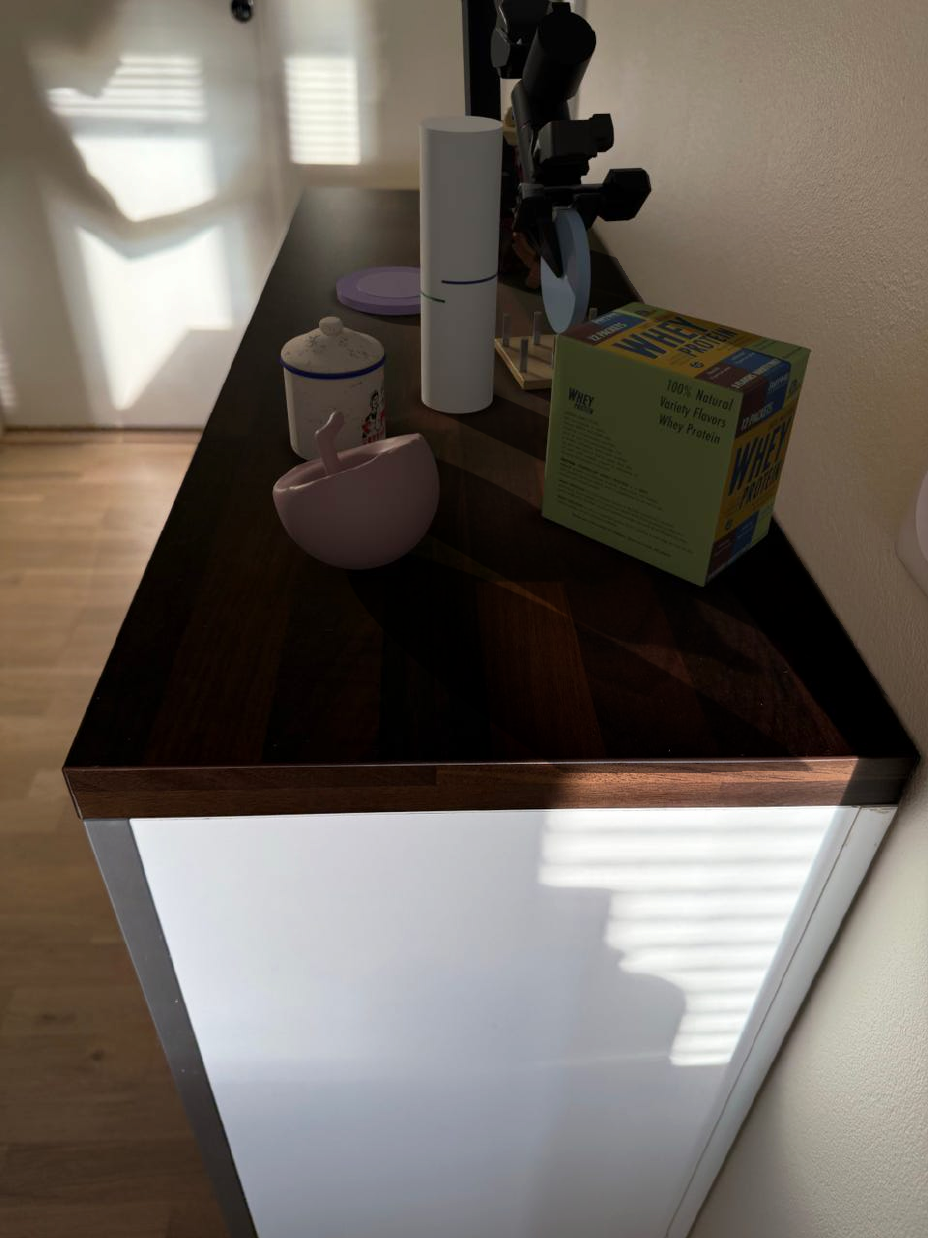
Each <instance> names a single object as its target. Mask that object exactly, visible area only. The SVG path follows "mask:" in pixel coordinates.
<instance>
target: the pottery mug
mask: <svg viewBox="0 0 928 1238" xmlns="http://www.w3.org/2000/svg"><path fill="white" fill-rule="evenodd" d="M532 247H533V245H532V244H531V243H530V242H529V241H528V240H527V239H526V238H525V237H524V236H523V235H522V234H521V233H515V232H512V233H507V232H505V231H503V230H500V229H499V248H500V250H501V251H498V270H497V271H499V273H502V272H505V273H506V272H507V271H508V270H509V269H510V268H512V267H514V266H517V265H525V266H526V267H527V268H528V269H530V270H529V273H528V276H527V277H526V279H525V282H524V283H525V286H527V287H528V288H530V289H531V290H537V288H538V287H540V286H542V284H541V255H540V254H539V252H538V251H537V250H536V249H534V248H532Z"/></svg>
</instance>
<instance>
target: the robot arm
mask: <svg viewBox="0 0 928 1238" xmlns="http://www.w3.org/2000/svg"><path fill="white" fill-rule="evenodd" d="M460 2H461V24H462V25H461V27H462V29H461V31H462V57H463V58H462V61H463V82H464V83H463V87H464V88H463V89H464V90H463V91H464V116H476V117H484V118H490V119H494V120H497V121H500V122H501V120H502V92H501V91H502V90H501V84H502V83H501V79H502V80H519V81H518V82H517V83H515V85H514V86H513V89H512V90H511V93H510V96H509V97H510V103H511V106H512V112H511V118H512V120H514V122H515V128H516V134H517V141H518V147H519V153H520V154H519V157H518V160H517V161H518V167H519V169H522V171H523V177H524V182H523V183H522V181H521V180H520V179H519V173H518V170H517V169H516V168H515V150H514V148H513V146H512V145H509V144H508V142H507V140H506V138H505V137H504V135H503V142H502V168H501V194H500V220H499V229H500V230H501V221H502V218H515V220H514V222H513V225H512V230H513V232H515V233H521V234H522V235H523V236H524V237H525V238H526V239H527V240H528V241H529V242H530V243H531V244H532V245H533V247H534V248H535V249H536V250H537V251H538V252H539V254H540V255H541V257H542V258H543V259H544V261H545V262H546V263H547V265H548V266H549V268H550V269H551V270H552V272H553V273H554V275H555V276H556V277H557V278H561V277H562V275H563V266H562V257H561V253H560V249H559V244H558V240H557V236H556V232H555V227H554V223H553V215H552V207H554V208H563V207H566V208H565V209H568V208H571V209H574V210H576V211H577V212H578V214H579V215H580V217H581V219H582V221H583V224H584V227H585V230H586V234H588V230H589V229H591V228H592V227H593V226H594V224H595V222H596V220H597V219H598V217H599V218H600V219H601V220H603V221H604V222H606V223H607V222H628V221H631V220H633V219H635V218H636V217H637V215H638V213H639V212H640V210H641V209H642V207H643V206H644V204H645V202H646V201H647V199H648V197H649V196H650V194H651V193H652V191H653V189H652V184H651V179H650V178H651V177H650V174H649V173H648V172H647V171H646V170H645V169H644V168H642V167H624V168H609V170H608V172H607V174H606V176H605V177H604V180H603V181H602V182H601V183H600V182H599V183H598V182H597V183H583V181H582V177H587V175H588V174H589V171H590V170H591V168H590V167H591V166H590V163H589V161H590V160H592V159H596V158H598V153H599V154H601V153H607V152H608V151H610V149H612V148H613V147H614V145H615V128H614V124H613V120H612V115H611V113H610V112H609V113H607V112H605V113H604V112H603V113H593V114H592V115H591V116H590V117H589V118H588V119H572V118H571V112H570V107H569V100H571V99H573V98H574V97H576V95H577V93H578V90H579V89H580V86H581V83H582V81H583V79H584V76H585V74H586V72H587V70H588V68H589V66H590V62H591V60H592V58H593V55H594V53H595V50H596V47H597V34H596V31H595V30H594V29H593V27H592V26H591V24H590V23H589V22H588V21H587V20H586V19H585V18H584V17H583V16H581V15H580V14H577V13H575V12H573V11H572V7H571V2H570V1H551V0H460ZM498 251H500V248H499V247H498Z"/></svg>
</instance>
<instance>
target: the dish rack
mask: <svg viewBox="0 0 928 1238" xmlns="http://www.w3.org/2000/svg"><path fill="white" fill-rule="evenodd" d="M511 316H512V315H511V313H507V312H506V313H503V314H502V334H501V335H502V336H501V337H497V338H496V337H495V350H496V351H497V353H498V354H499V356H500V357H501V359H502V360H503V362H504V363H505V365H506V366H507V367H508V370H509V371H510V372H511V375H513V377H514V378H515V380H516V381H517V383H518V385H520V387H521V389H522V390H523V391H527V390H542V389H552V381H553V368H554V357H555V345H556V336H557V335H558V334H559V333H555V334H554V333H553V334H541V333H542V318H543V312H542V311H535V312H534V315H533V318H534V319H533V331H532V335H525V336H511V319H512V318H511ZM597 317H598V308H596V307H591V308H589V314H588V321H590V320H593V319H595V318H597ZM510 336H511V337H510Z"/></svg>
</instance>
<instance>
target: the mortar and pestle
mask: <svg viewBox="0 0 928 1238" xmlns="http://www.w3.org/2000/svg"><path fill="white" fill-rule="evenodd" d="M343 424H344V415H343V413H342V412H340V411H335V412H333V413H332V414H331V416H330V419H329V421H328V422H327V424H326V425H325V426H324V427H322V428H321V429H319V430H318V431H317V432H316V433H315V441H316V444H317V447H318V450H319V453H320V456H321V458H319V459H316V460H312V461H306V462H304V463H301V464H298V465H296V466H294V467H293V468H292V469H290V470H289V471H288V472H287V473H285V474H284V475H283V476H281V477H280V478H279V479H278V480H277V481H276V483H275V484H274V485H273V490H272V497H273V502H274V506H275V508H276V511H277V514H278V516H279V519H280V522H281V523H282V525H283V527H284V529H285V530H286V532H287V534H288V535H289V537H290V538H291V539H292V540H293V541H294V542H295V543H296V544H297V546H298V547H300V548H301V549H302V550H303V551H304V552H306V553H307V554H308V555H309V556H311V557H313V558H314V559H316V560H318V561H319V562H322V563H324V564H327V565H329V566H332V567H336V568H340V569H345V570H359V571H362V570H371V569H375V568H380V567H383V566H385V565H389V564H391V563H393V562H394V561H397V560H399V559H401V558H402V557H403V556H405V555H407V554H408V553H409V552H410V551H411V550H413V549H414V548H415V547H416V546H417V545H418V544H419V543H420V541H421V540H422V539H423V538H424V537H425V535H426V534H427V532H428V530H429V529H430V528H431V525H432V523H433V520H434V519H435V518H434V517H435V516H436V513H437V509H438V505H439V499H440V487H441V486H440V475H439V471H438V470H439V469H438V466H437V463H436V459H435V456H434V454H433V451H432V449H431V446H429V444H428V442H427V440H426V439H425V437H424V435H422V434H420V433H419V432H417V433H411V434H404V435H399V436H394V437H388V438H386V439H384V440H380V441H376V442H373V443H370V444H366V445H363V446H360V447H356V448H354V449H349V450H347V451H343V452H341V453H336V450H335V446H334V439H335V437H336V435H337V433H338V431H339V430H340V428H341V427H342V426H343Z"/></svg>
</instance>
